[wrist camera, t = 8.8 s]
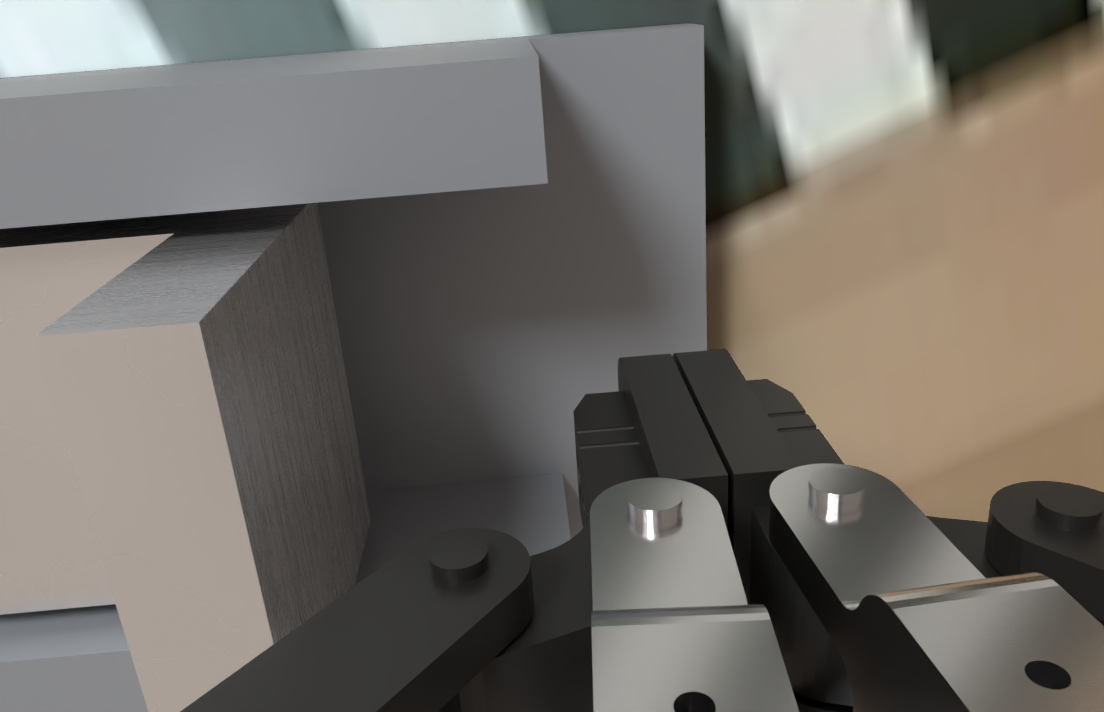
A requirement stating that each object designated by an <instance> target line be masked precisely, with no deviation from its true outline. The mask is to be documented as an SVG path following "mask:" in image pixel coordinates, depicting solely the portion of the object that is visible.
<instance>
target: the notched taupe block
mask: <svg viewBox="0 0 1104 712" xmlns="http://www.w3.org/2000/svg"><path fill="white" fill-rule="evenodd" d="M370 521H371V518H370V512H369V507H368V501H367V495H366V489H365V483H364V477H363V471H362V466H361V460H360V454H359V448H358V442H357V436H356V431H355V425H354V419H353V413H352V407H351V401H350V396H349V390H348V384H347V378H346V372H345V366H344V360H343V355H342V349H341V343H340V337H339V331H338V325H337V320H336V314H335V308H334V302H333V296H332V290H331V285H330V279H329V273H328V267H327V261H326V255H325V249H324V244H323V238H322V232H321V226H320V220H319V214H318V209H317V203H307V204H295V205H283V206H271V207H258V208H246V209H234V210H222V211H210V212H198V213H186V214H174V215H162V216H150V217H138V218H126V219H114V220H102V221H90V222H78V223H66V224H54V225H42V226H30V227H18V228H6V229H0V615H3V614H14V613H25V612H35V611H46V610H57V609H68V608H79V607H90V606H101V605H111V604H116V608H117V611H118V614H119V617H120V621H121V624H122V627H123V630H124V634H125V637H126V640H127V644H128V647H129V650H130V653H131V657H132V660H133V663H134V666H135V670H136V673H137V676H138V680H139V683H140V686H141V689H142V693H143V696H144V699H145V702H146V706H147V709H148V712H180V711H182V710H183V709H184V708H186V707H187V706H189V705H190V704H191V703H193V702H194V701H196V700H197V699H198V698H200V697H201V696H202V695H204V694H205V693H207V692H208V691H209V690H211V689H212V688H214V687H215V686H216V685H218V684H219V683H220V682H222V681H223V680H225V679H226V678H227V677H229V676H230V675H232V674H233V673H234V672H236V671H237V670H239V669H240V668H241V667H243V666H244V665H245V664H247V663H248V662H250V661H251V660H252V659H254V658H255V657H257V656H258V655H259V654H261V653H262V652H264V651H265V650H266V649H268V648H269V647H270V646H272V645H273V644H275V643H276V642H277V641H279V640H280V639H282V638H283V637H284V636H286V635H287V634H289V633H290V632H291V631H293V630H294V629H295V628H297V627H298V626H300V625H301V624H302V623H304V622H305V621H307V620H308V619H309V618H311V617H312V616H314V615H315V614H316V613H318V612H319V611H320V610H322V609H323V608H325V607H326V606H327V605H329V604H330V603H332V602H333V601H334V600H336V599H337V598H338V597H340V596H341V595H343V594H344V593H345V592H347V591H348V590H350V589H351V588H352V587H354V586H355V582H356V578H357V574H358V570H359V566H360V561H361V557H362V553H363V549H364V545H365V541H366V537H367V533H368V529H369V525H370Z"/></svg>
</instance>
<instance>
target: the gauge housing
mask: <svg viewBox="0 0 1104 712" xmlns="http://www.w3.org/2000/svg"><path fill="white" fill-rule="evenodd" d="M307 203H317V209H318V214H319V220H320V226H321V232H322V238H323V244H324V249H325V255H326V261H327V267H328V273H329V279H330V285H331V290H332V296H333V302H334V308H335V314H336V320H337V325H338V331H339V337H340V343H341V349H342V355H343V360H344V366H345V372H346V378H347V384H348V390H349V396H350V401H351V407H352V413H353V419H354V425H355V431H356V436H357V442H358V448H359V454H360V460H361V466H362V471H363V477H364V483H365V489H366V495H367V501H368V507H369V512H370V518H371V521H370V525H369V529H368V533H367V537H366V541H365V545H364V549H363V553H362V557H361V561H360V566H359V570H358V574H357V578H356V582H355V585H357V584H358V583H359V582H361V581H362V580H363V579H365V578H366V577H368V576H369V575H370V574H372V573H373V572H375V571H376V570H377V569H379V568H380V567H382V566H383V565H384V564H386V563H387V562H388V561H390V560H391V559H393V558H394V557H395V556H397V555H398V554H400V553H401V552H402V551H404V550H405V549H407V548H408V547H409V546H411V545H413V544H414V543H416V542H417V541H419V540H421V539H424V538H426V537H428V536H431V535H434V534H436V533H440V532H444V531H448V530H453V529H460V528H485V529H492V530H496V531H500V532H504V533H506V534H508V535H511V536H513V537H514V538H516V539H517V540H519V541H520V542H521V543H522V544H523V545H524V546H525V547H526V549H527V551H528V552H529V556H532V555H535V554H538V553H542V552H545V551H547V550H550V549H553V548H555V547H557V546H560V545H562V544H564V543H565V542H567V541H569V540H570V539H572V538H573V537H574V536H576V535H577V534H578V533H579V532H580V531H581V530H582V529H583V527H582V520H581V513H580V507H579V492H578V476H577V460H576V445H575V429H574V413H573V411H574V410H575V408H576V407H577V406H578V404H579V403H580V401H581V400H582V398H583V397H584V396H585V394H592V393H605V392H617V391H618V359H619V358H621V357H634V356H646V355H658V354H671V355H672V356H673V354H674V353H681V352H694V351H706V350H707V295H706V194H705V93H704V25H698V24H691V23H688V24H676V25H663V26H650V27H638V28H625V29H613V30H600V31H588V32H575V33H562V34H550V35H537V36H525V37H512V38H500V39H487V40H475V41H462V42H449V43H437V44H424V45H412V46H399V47H387V48H374V49H361V50H349V51H336V52H324V53H311V54H299V55H286V56H274V57H261V58H248V59H236V60H223V61H211V62H198V63H186V64H173V65H160V66H148V67H135V68H123V69H110V70H98V71H85V72H73V73H60V74H47V75H35V76H22V77H10V78H0V229H6V228H18V227H30V226H42V225H54V224H66V223H78V222H90V221H102V220H114V219H126V218H138V217H150V216H162V215H174V214H186V213H198V212H210V211H222V210H234V209H246V208H258V207H271V206H283V205H295V204H307ZM0 712H148V709H147V706H146V702H145V699H144V696H143V693H142V689H141V686H140V683H139V680H138V676H137V673H136V670H135V666H134V663H133V660H132V657H131V653H130V650H129V647H128V644H127V640H126V637H125V634H124V630H123V627H122V624H121V621H120V617H119V614H118V611H117V608H116V604H111V605H101V606H90V607H79V608H68V609H57V610H46V611H35V612H25V613H14V614H3V615H0Z"/></svg>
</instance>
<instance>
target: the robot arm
mask: <svg viewBox="0 0 1104 712" xmlns="http://www.w3.org/2000/svg"><path fill="white" fill-rule="evenodd" d="M573 413H574V429H575V445H576V460H577V476H578V492H579V507H580V513H581V520H582V527H583V529H582V530H581V531H580V532H579V533H578V534H577V535H576V536H574V537H573V538H572V539H570V540H569V541H567V542H565V543H564V544H562V545H560V546H557V547H555V548H553V549H550V550H547V551H545V552H542V553H538V554H535V555H532V556H529V552H528V551H527V549H526V547H525V546H524V545H523V544H522V543H521V542H520V541H519V540H517V539H516V538H514V537H513V536H511V535H508V534H506V533H504V532H500V531H496V530H492V529H485V528H460V529H453V530H448V531H444V532H440V533H436V534H434V535H431V536H428V537H426V538H424V539H421V540H419V541H417V542H416V543H414V544H413V545H411V546H409V547H408V548H407V549H405V550H404V551H402V552H401V553H400V554H398V555H397V556H395V557H394V558H393V559H391V560H390V561H388V562H387V563H386V564H384V565H383V566H382V567H380V568H379V569H377V570H376V571H375V572H373V573H372V574H370V575H369V576H368V577H366V578H365V579H363V580H362V581H361V582H359V583H358V584H357V585H355V586H354V587H352V588H351V589H350V590H348V591H347V592H345V593H344V594H343V595H341V596H340V597H338V598H337V599H336V600H334V601H333V602H332V603H330V604H329V605H327V606H326V607H325V608H323V609H322V610H320V611H319V612H318V613H316V614H315V615H314V616H312V617H311V618H309V619H308V620H307V621H305V622H304V623H302V624H301V625H300V626H298V627H297V628H295V629H294V630H293V631H291V632H290V633H289V634H287V635H286V636H284V637H283V638H282V639H280V640H279V641H277V642H276V643H275V644H273V645H272V646H270V647H269V648H268V649H266V650H265V651H264V652H262V653H261V654H259V655H258V656H257V657H255V658H254V659H252V660H251V661H250V662H248V663H247V664H245V665H244V666H243V667H241V668H240V669H239V670H237V671H236V672H234V673H233V674H232V675H230V676H229V677H227V678H226V679H225V680H223V681H222V682H220V683H219V684H218V685H216V686H215V687H214V688H212V689H211V690H209V691H208V692H207V693H205V694H204V695H202V696H201V697H200V698H198V699H197V700H196V701H194V702H193V703H191V704H190V705H189V706H187V707H186V708H184V709H183V710H182V711H180V712H1104V493H1103V492H1100V491H1097V490H1094V489H1090V488H1087V487H1083V486H1079V485H1074V484H1069V483H1062V482H1052V481H1030V482H1021V483H1017V484H1013V485H1010V486H1007V487H1004V488H1002V489H1001V490H999V491H998V492H997V493H996V494H995V495H994V496H993V497H992V500H991V503H990V510H989V518H988V522H979V521H968V520H958V519H947V518H938V517H930V516H925V515H924V514H923V512H922V511H921V510H920V509H919V508H918V507H917V506H916V505H915V504H914V503H913V502H912V501H911V500H910V499H909V498H908V497H907V496H906V495H905V494H904V493H903V492H902V491H901V490H900V489H899V488H898V487H897V486H896V485H895V484H894V483H893V482H892V481H890V480H888V479H887V478H885V477H883V476H881V475H879V474H877V473H875V472H872V471H869V470H866V469H863V468H859V467H855V466H850V465H844V463H843V462H842V460H841V459H840V458H839V456H838V455H837V454H836V452H835V451H834V449H833V448H832V447H831V445H830V444H829V443H828V441H827V440H826V438H825V437H824V436H823V434H822V433H821V432H820V430H819V429H816V425H815V423H814V422H813V421H812V419H811V418H810V416H809V415H808V414H806V413H805V410H804V408H803V407H802V405H801V404H800V403H799V401H798V400H797V399H796V397H795V396H794V395H793V393H791V392H789V391H788V390H786V389H784V388H782V387H780V386H778V385H777V384H775V383H773V382H771V381H769V380H767V379H762V380H749V381H746V380H745V378H744V376H743V375H742V373H741V372H740V370H739V369H738V367H737V365H736V364H735V362H734V361H733V359H732V357H731V356H730V354H729V353H728V351H727V350H726V349H718V350H706V351H694V352H681V353H674V354H673V356H672V355H671V354H658V355H646V356H634V357H621V358H619V359H618V391H617V392H605V393H592V394H585V396H584V397H583V398H582V400H581V401H580V403H579V404H578V406H577V407H576V408H575V410H574V411H573Z"/></svg>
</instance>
